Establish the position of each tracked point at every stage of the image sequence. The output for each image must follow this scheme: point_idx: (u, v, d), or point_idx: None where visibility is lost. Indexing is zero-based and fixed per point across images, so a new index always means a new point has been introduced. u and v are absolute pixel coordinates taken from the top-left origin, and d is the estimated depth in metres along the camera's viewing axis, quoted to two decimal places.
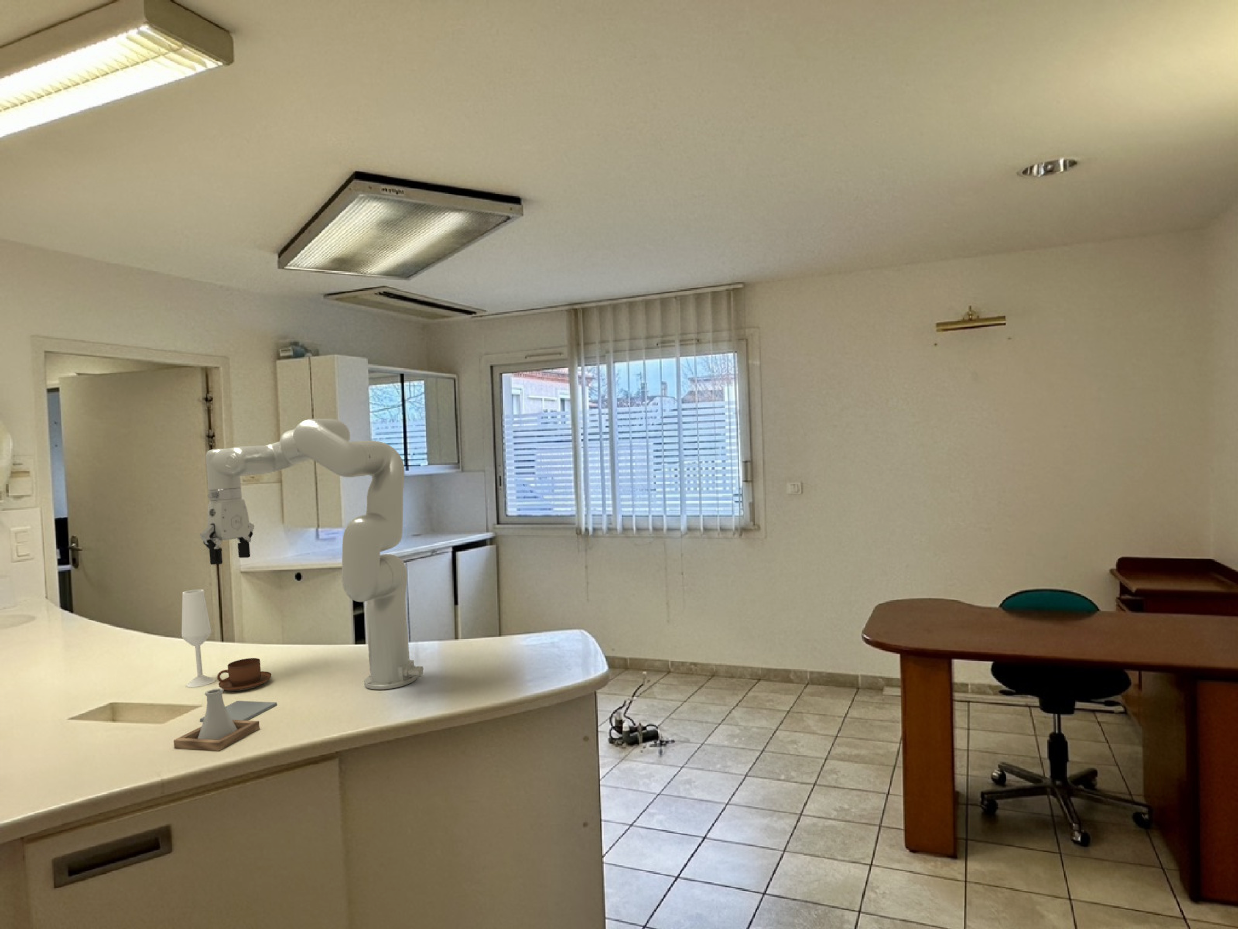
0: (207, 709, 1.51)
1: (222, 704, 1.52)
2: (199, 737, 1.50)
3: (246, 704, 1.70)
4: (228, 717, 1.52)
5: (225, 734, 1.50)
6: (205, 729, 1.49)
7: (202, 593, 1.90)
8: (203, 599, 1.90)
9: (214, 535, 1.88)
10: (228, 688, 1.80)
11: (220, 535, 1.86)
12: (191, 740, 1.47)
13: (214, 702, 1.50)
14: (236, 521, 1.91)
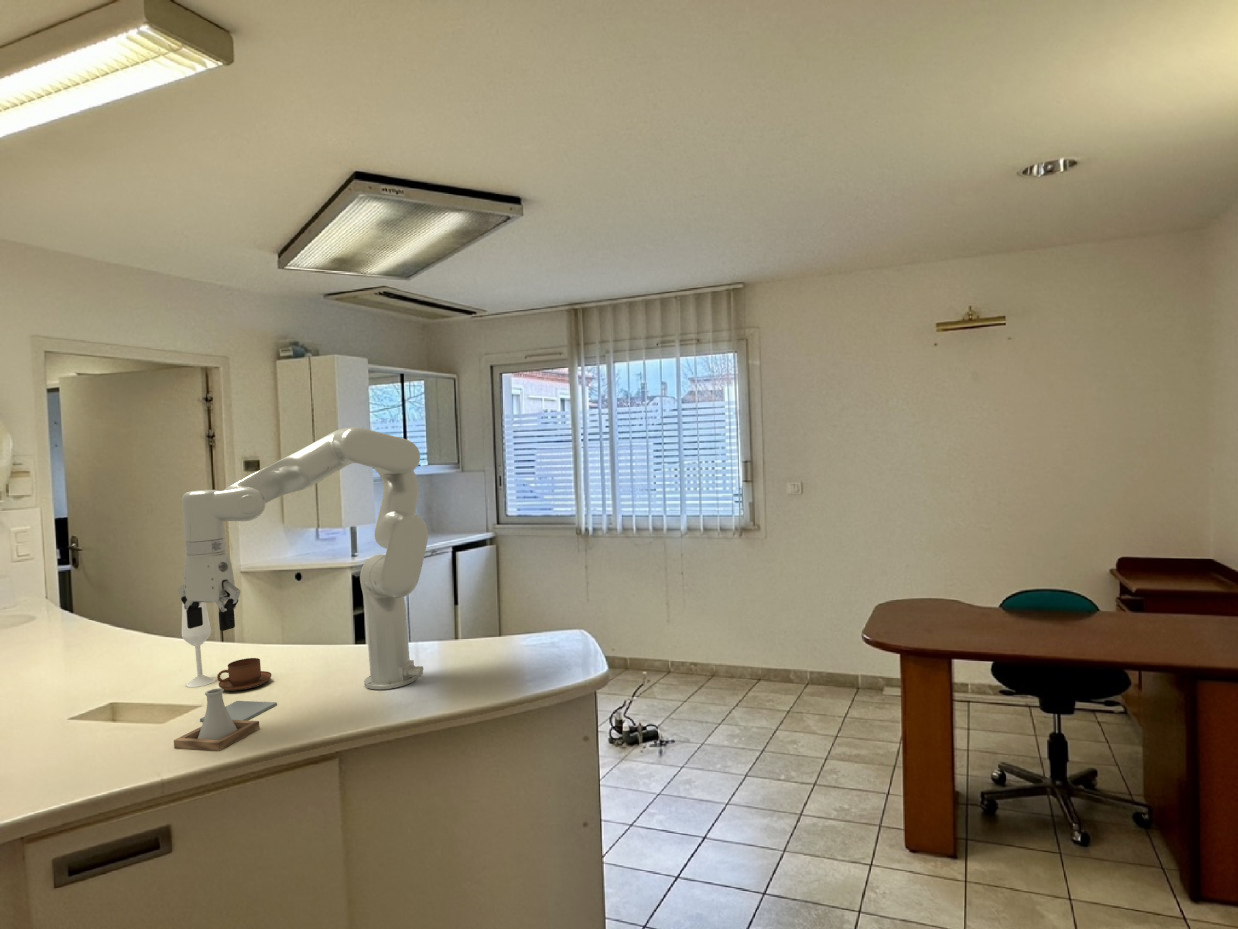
0: (207, 709, 1.51)
1: (222, 704, 1.52)
2: (199, 737, 1.50)
3: (246, 704, 1.70)
4: (228, 717, 1.52)
5: (225, 734, 1.50)
6: (205, 729, 1.49)
7: None
8: None
9: None
10: (228, 688, 1.80)
11: None
12: (191, 740, 1.47)
13: (214, 702, 1.50)
14: None
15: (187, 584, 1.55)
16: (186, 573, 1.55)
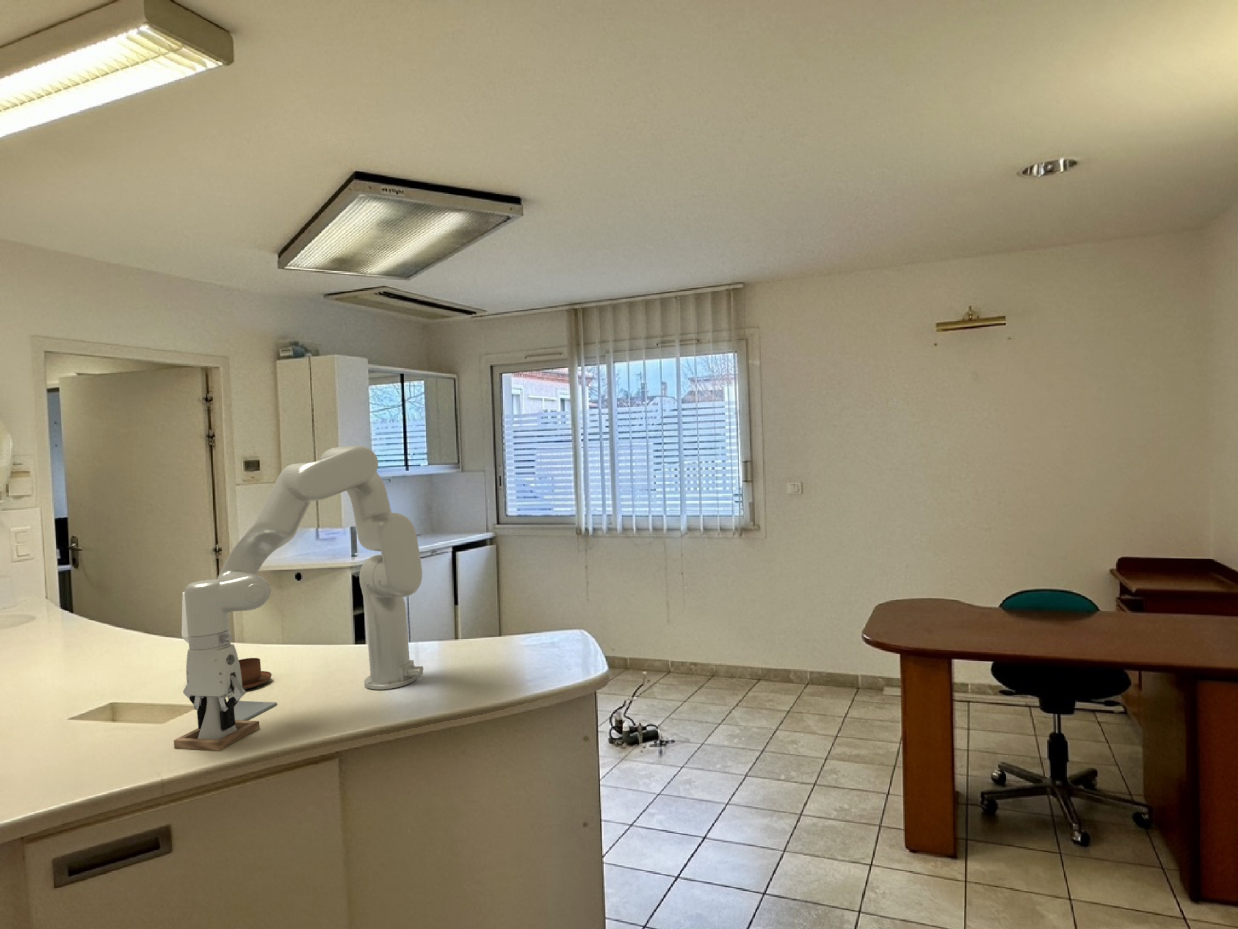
0: (207, 709, 1.50)
1: None
2: (199, 737, 1.50)
3: (246, 704, 1.70)
4: None
5: (225, 734, 1.50)
6: (205, 729, 1.49)
7: None
8: None
9: None
10: None
11: (241, 684, 1.52)
12: (191, 740, 1.47)
13: (214, 701, 1.50)
14: None
15: (190, 679, 1.50)
16: (189, 667, 1.50)
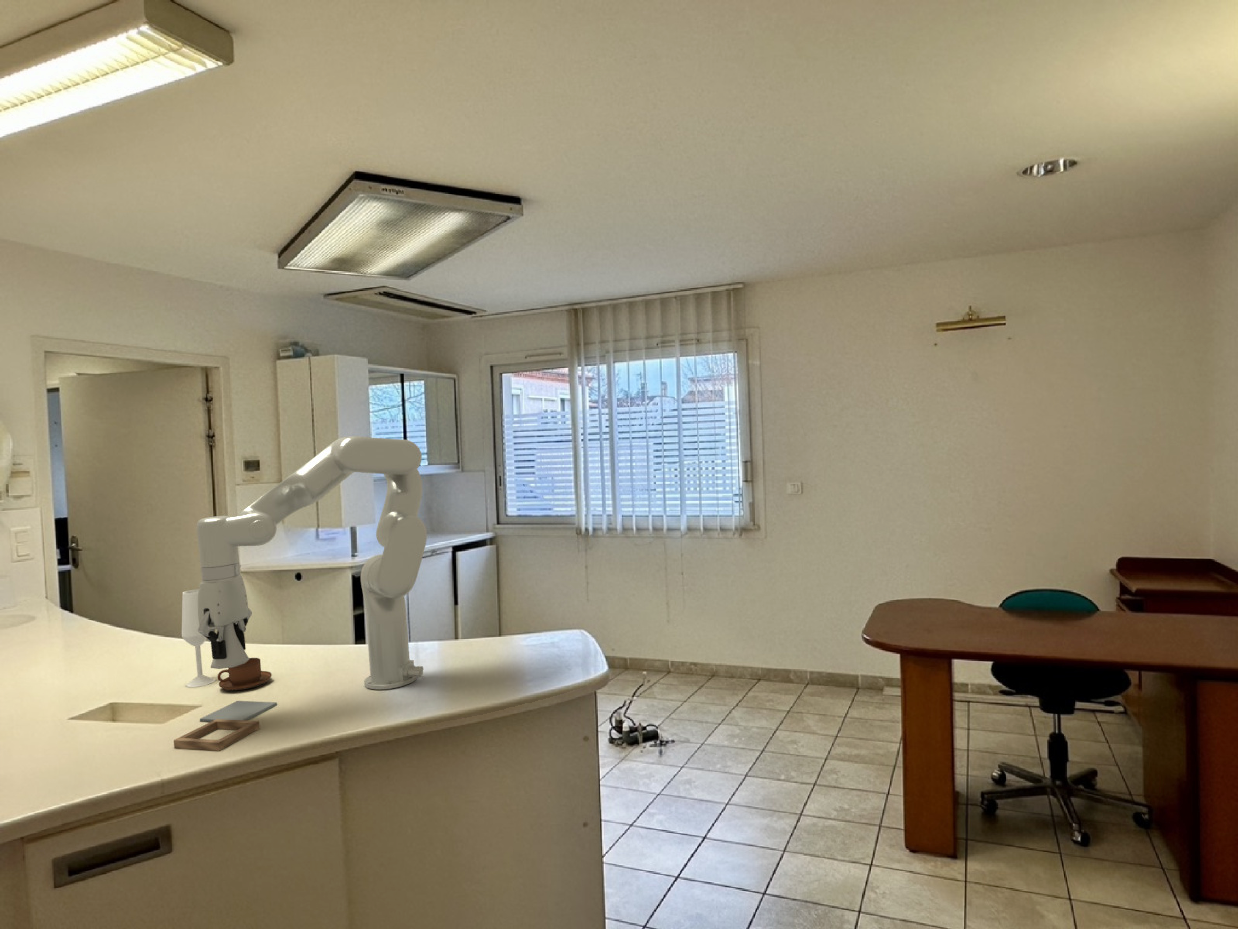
0: (230, 636, 1.60)
1: None
2: (234, 662, 1.59)
3: (246, 704, 1.70)
4: None
5: None
6: (237, 652, 1.60)
7: None
8: None
9: None
10: (228, 688, 1.81)
11: None
12: (191, 740, 1.47)
13: (233, 627, 1.61)
14: None
15: (221, 609, 1.57)
16: (220, 599, 1.57)
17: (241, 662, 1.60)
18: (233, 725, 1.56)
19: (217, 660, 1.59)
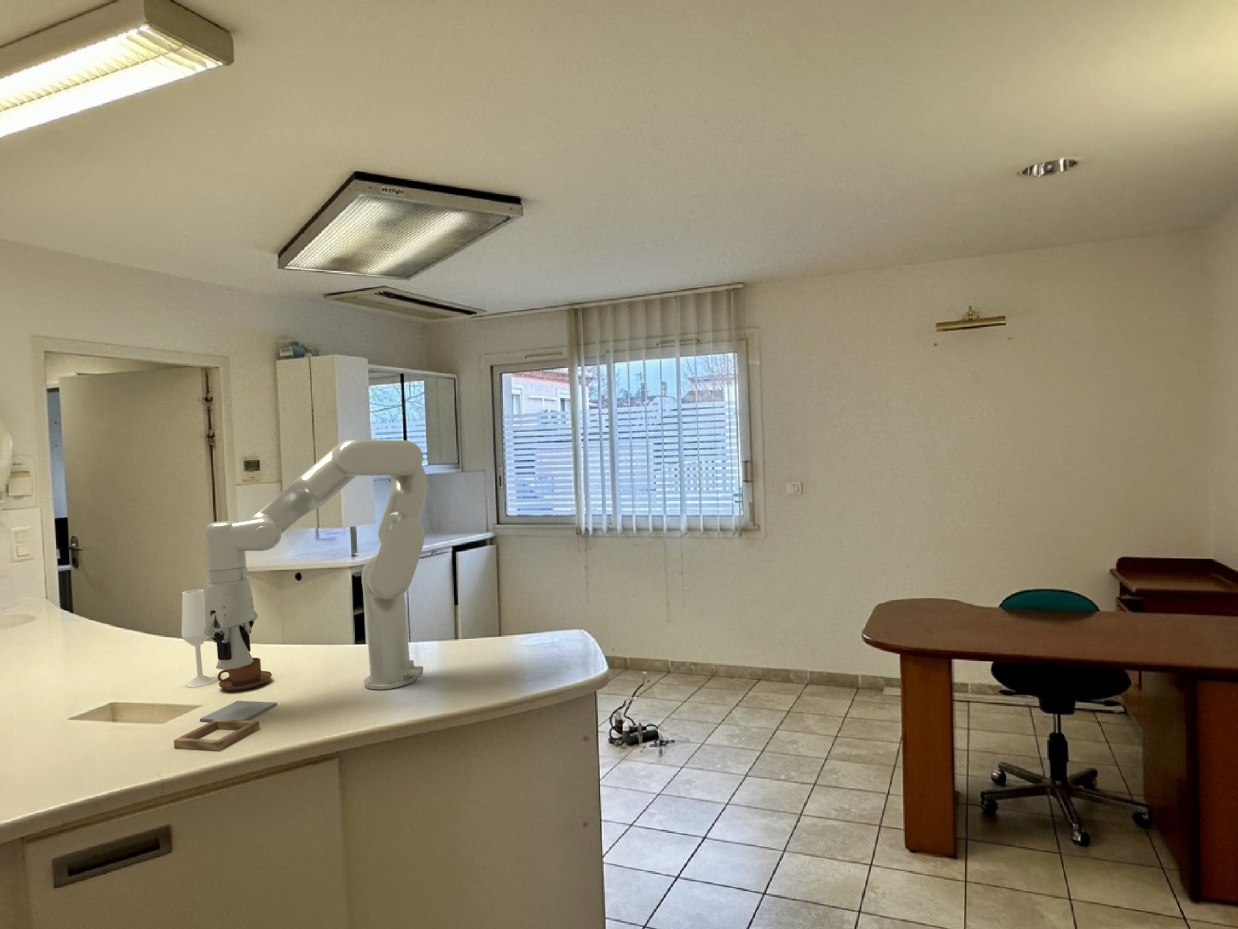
0: (235, 638, 1.64)
1: None
2: (238, 663, 1.63)
3: (246, 704, 1.70)
4: None
5: None
6: (242, 653, 1.65)
7: (202, 593, 1.90)
8: (203, 599, 1.90)
9: None
10: (228, 688, 1.81)
11: None
12: (191, 740, 1.47)
13: (238, 629, 1.66)
14: None
15: (227, 612, 1.61)
16: (226, 601, 1.61)
17: (245, 663, 1.64)
18: (233, 725, 1.56)
19: (222, 661, 1.63)
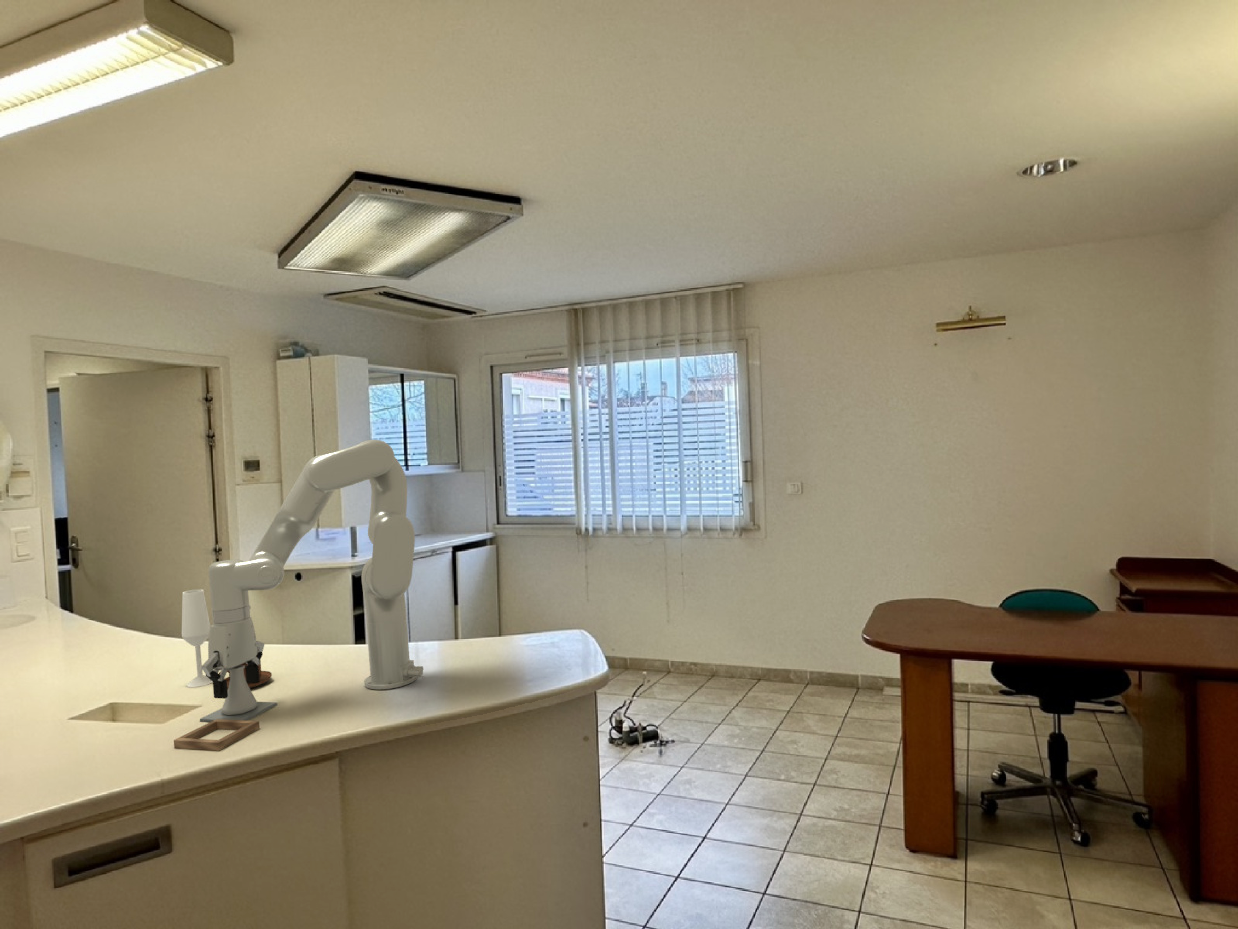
0: (240, 682, 1.65)
1: None
2: (243, 708, 1.64)
3: None
4: None
5: None
6: (246, 698, 1.65)
7: (202, 593, 1.90)
8: (203, 599, 1.90)
9: None
10: None
11: None
12: (191, 740, 1.47)
13: (243, 674, 1.66)
14: None
15: (230, 652, 1.62)
16: (229, 642, 1.62)
17: (250, 708, 1.65)
18: (233, 725, 1.56)
19: (227, 706, 1.64)
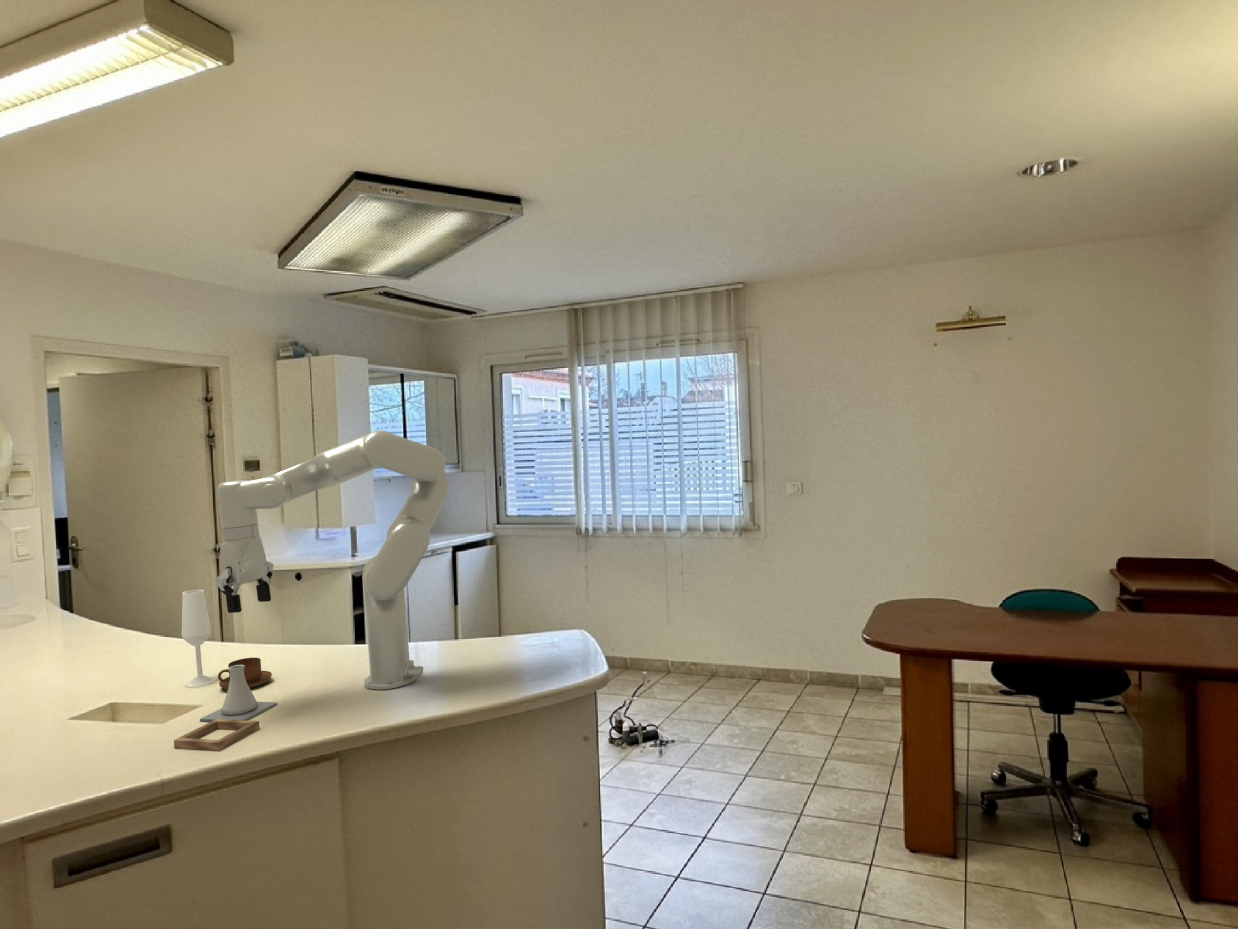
0: (240, 682, 1.65)
1: None
2: (243, 708, 1.64)
3: None
4: None
5: None
6: (246, 698, 1.65)
7: (202, 593, 1.90)
8: (203, 599, 1.90)
9: None
10: None
11: None
12: (191, 740, 1.47)
13: (243, 674, 1.66)
14: None
15: (242, 567, 1.66)
16: (241, 557, 1.66)
17: (250, 708, 1.65)
18: (233, 725, 1.56)
19: (227, 706, 1.64)
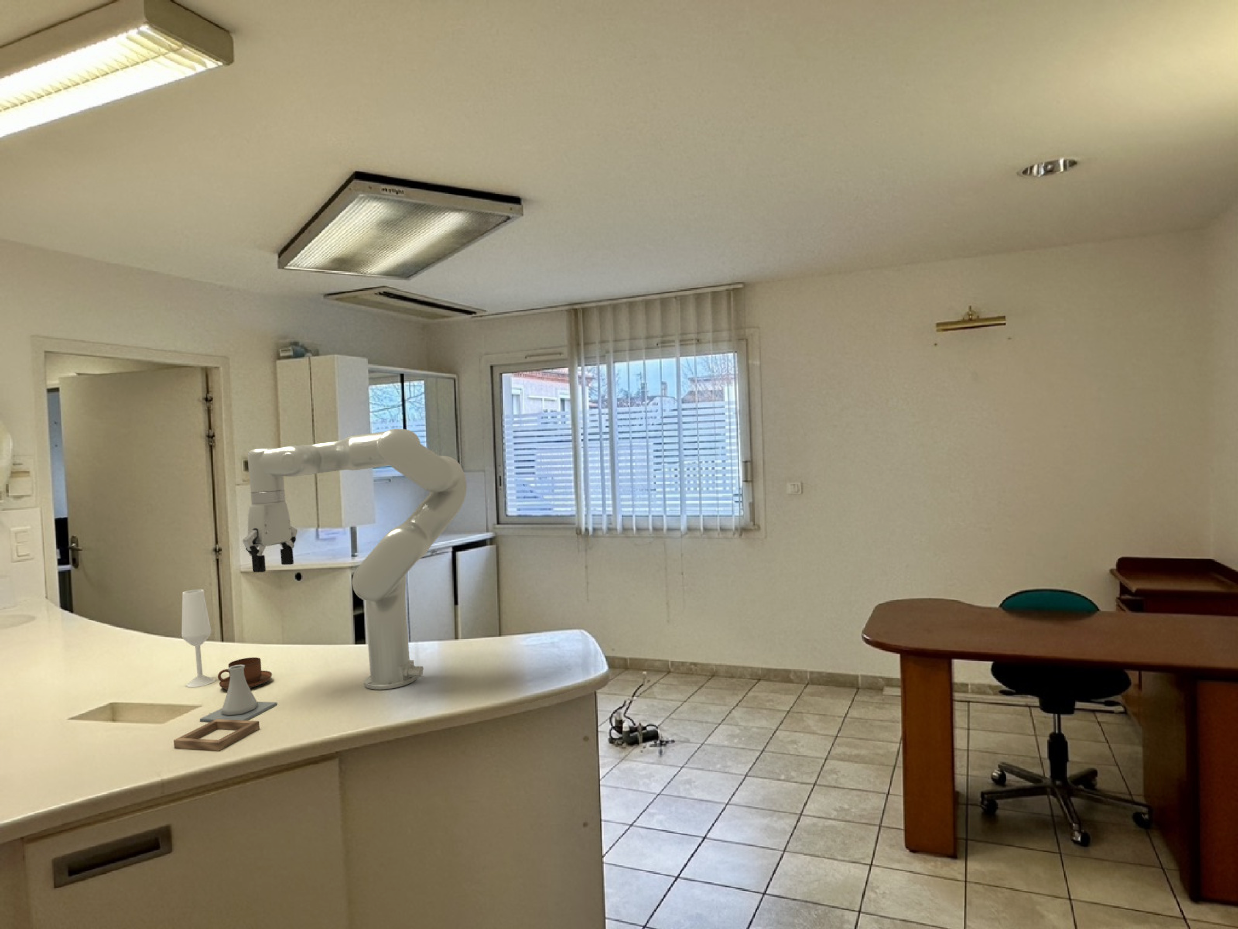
0: (240, 682, 1.65)
1: None
2: (243, 708, 1.64)
3: None
4: None
5: None
6: (246, 698, 1.65)
7: (202, 593, 1.90)
8: (203, 599, 1.90)
9: None
10: None
11: None
12: (191, 740, 1.47)
13: (243, 674, 1.66)
14: None
15: (268, 530, 1.75)
16: (267, 520, 1.75)
17: (250, 708, 1.65)
18: (233, 725, 1.56)
19: (227, 706, 1.64)
